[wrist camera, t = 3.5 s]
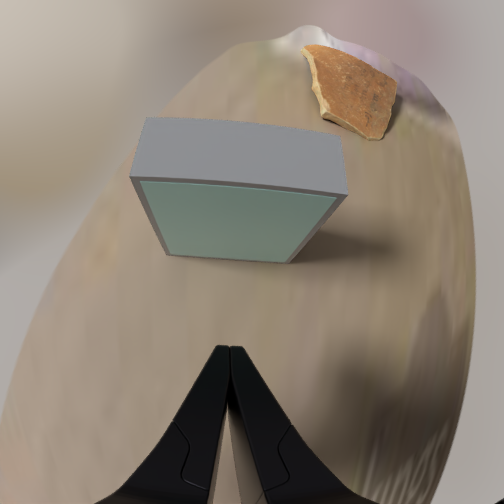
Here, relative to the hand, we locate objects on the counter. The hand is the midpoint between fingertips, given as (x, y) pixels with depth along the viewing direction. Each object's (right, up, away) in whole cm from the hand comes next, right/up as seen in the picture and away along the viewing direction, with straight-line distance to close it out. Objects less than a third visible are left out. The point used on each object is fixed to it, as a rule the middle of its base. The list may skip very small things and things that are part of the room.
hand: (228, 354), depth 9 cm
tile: (-1, +4, +8) cm, 9 cm away
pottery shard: (+8, +17, +14) cm, 24 cm away
